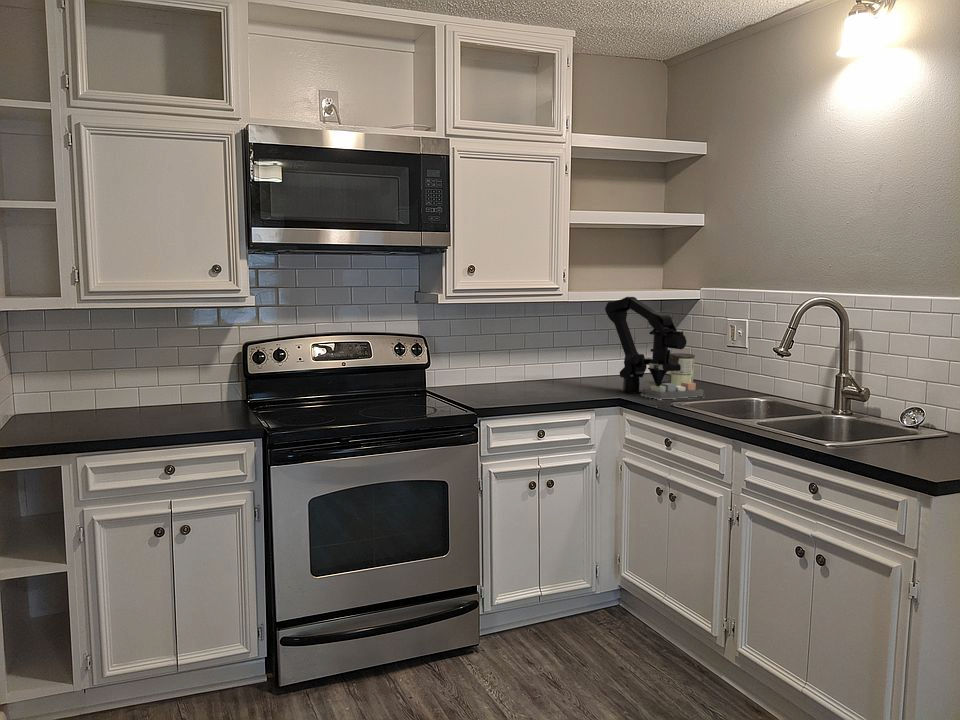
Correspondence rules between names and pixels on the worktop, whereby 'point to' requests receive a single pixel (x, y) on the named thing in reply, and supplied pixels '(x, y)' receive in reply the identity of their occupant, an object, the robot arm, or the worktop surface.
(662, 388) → the key
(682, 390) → the key
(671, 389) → the key
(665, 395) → the keypad board
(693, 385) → the key
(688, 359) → the coffee can
